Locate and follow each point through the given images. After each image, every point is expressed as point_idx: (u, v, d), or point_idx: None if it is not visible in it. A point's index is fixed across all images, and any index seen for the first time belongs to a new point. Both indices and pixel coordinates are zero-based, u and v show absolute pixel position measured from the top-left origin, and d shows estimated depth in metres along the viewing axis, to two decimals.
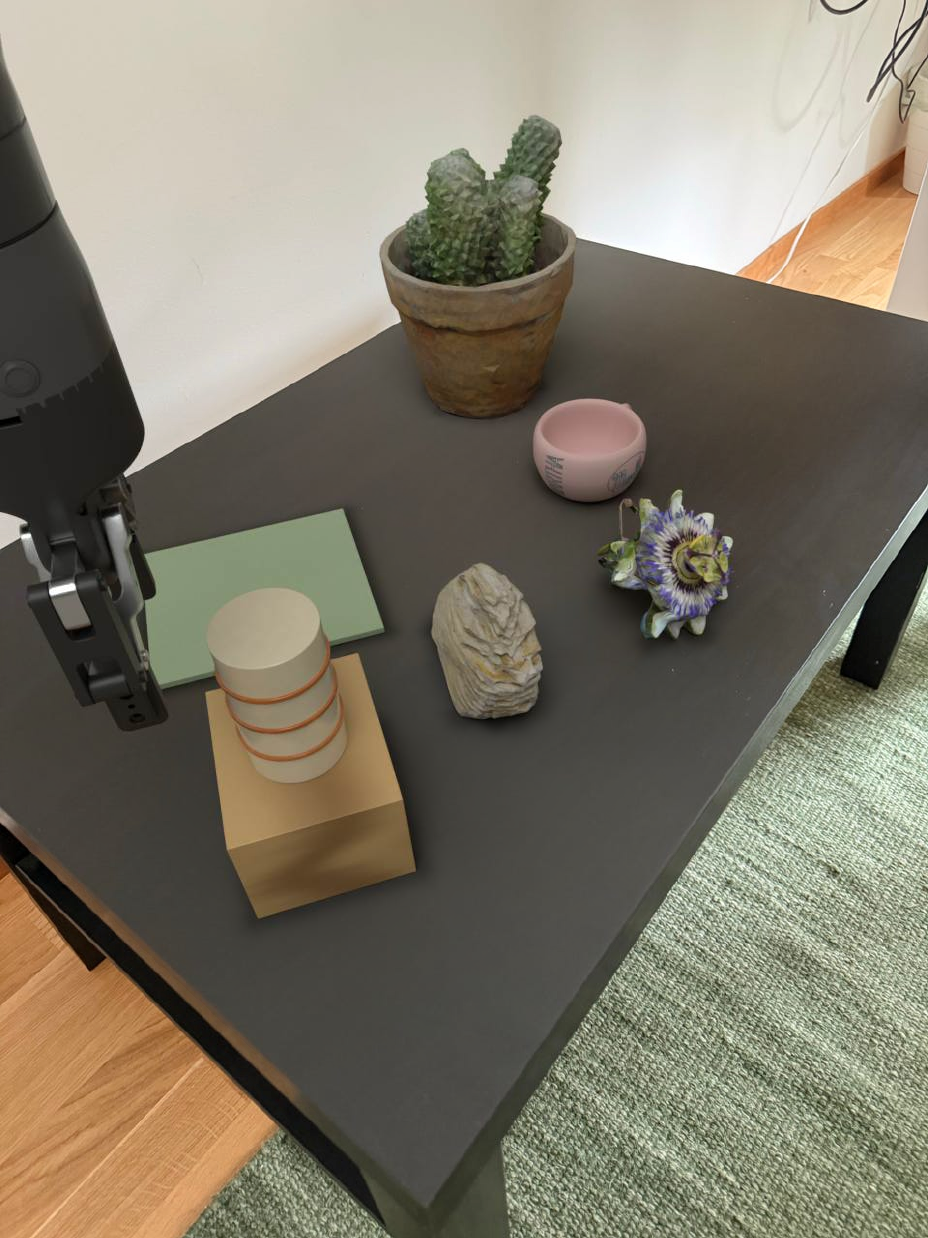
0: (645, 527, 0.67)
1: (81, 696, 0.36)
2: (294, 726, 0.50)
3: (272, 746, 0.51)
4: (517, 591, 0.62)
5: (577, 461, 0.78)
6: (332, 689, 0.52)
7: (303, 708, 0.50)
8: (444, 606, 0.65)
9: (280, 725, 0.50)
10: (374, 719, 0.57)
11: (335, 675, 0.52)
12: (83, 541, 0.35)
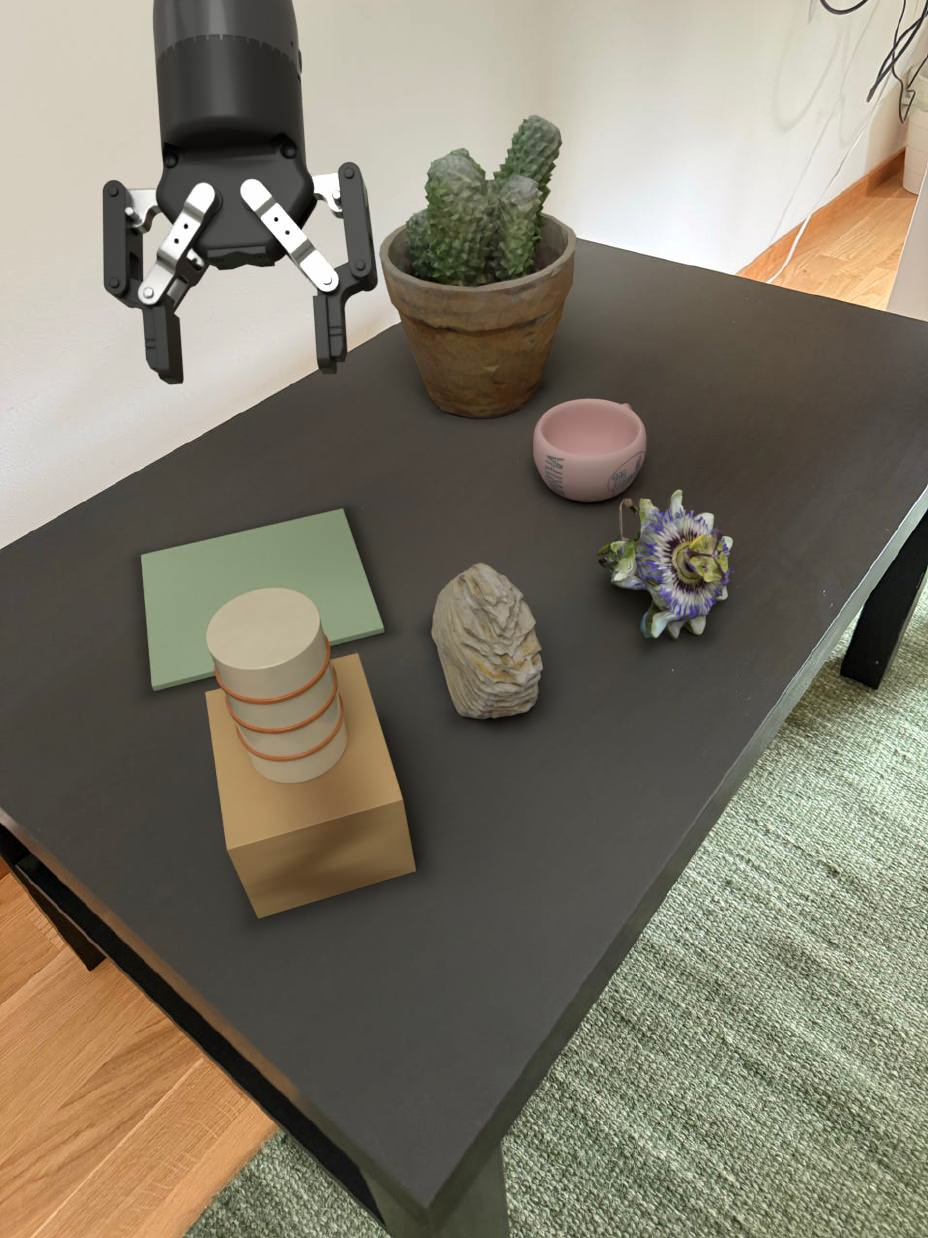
0: (645, 527, 0.67)
1: (371, 258, 0.48)
2: (294, 726, 0.50)
3: (272, 746, 0.51)
4: (517, 591, 0.62)
5: (577, 461, 0.78)
6: (332, 689, 0.52)
7: (303, 708, 0.50)
8: (444, 606, 0.65)
9: (280, 725, 0.50)
10: (374, 719, 0.57)
11: (335, 675, 0.52)
12: None
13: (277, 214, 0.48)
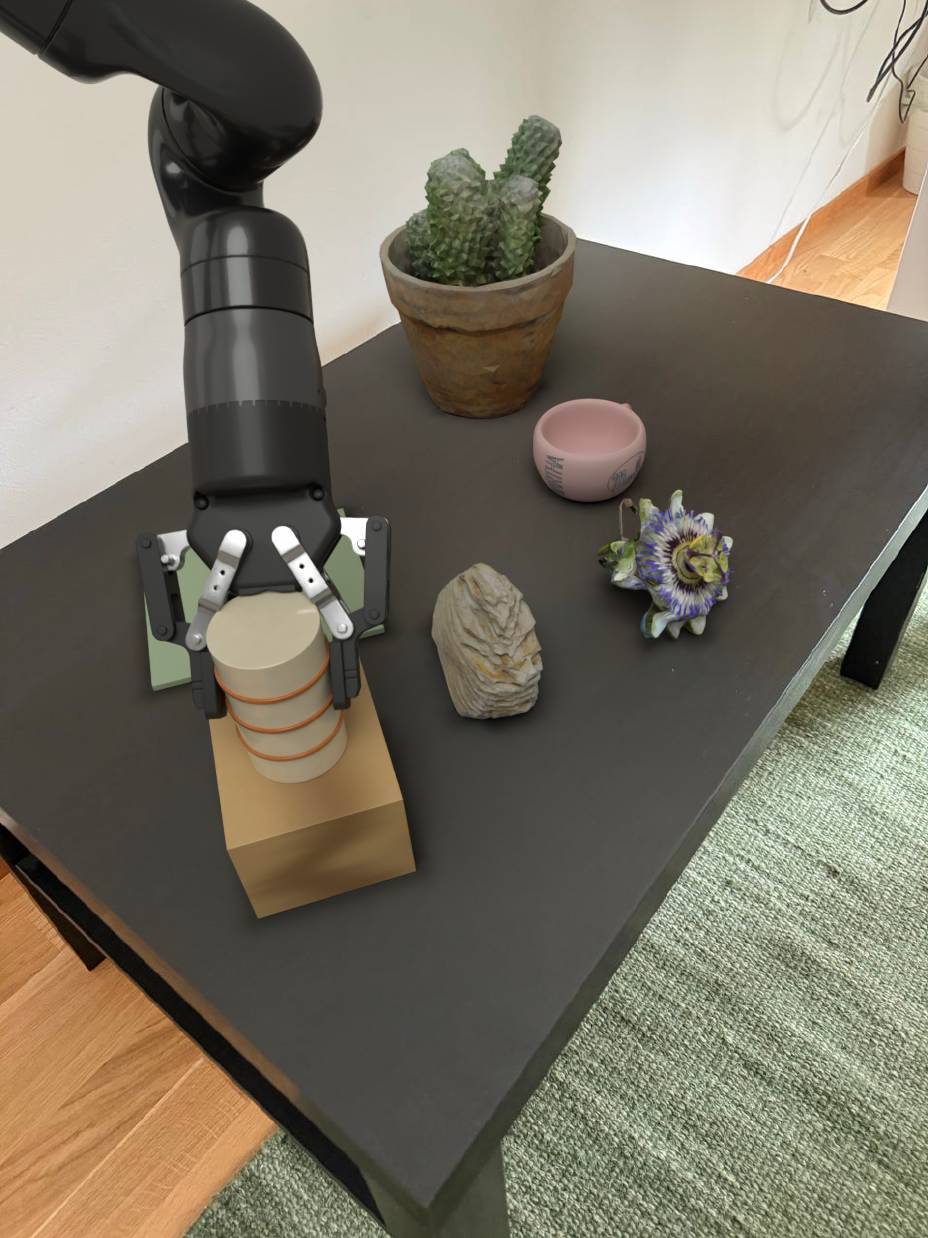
0: (645, 527, 0.67)
1: (385, 608, 0.50)
2: (294, 726, 0.50)
3: (272, 746, 0.51)
4: (517, 591, 0.62)
5: (577, 461, 0.78)
6: None
7: (302, 708, 0.50)
8: (444, 606, 0.65)
9: (280, 725, 0.50)
10: (374, 719, 0.57)
11: None
12: (339, 515, 0.52)
13: (303, 562, 0.49)
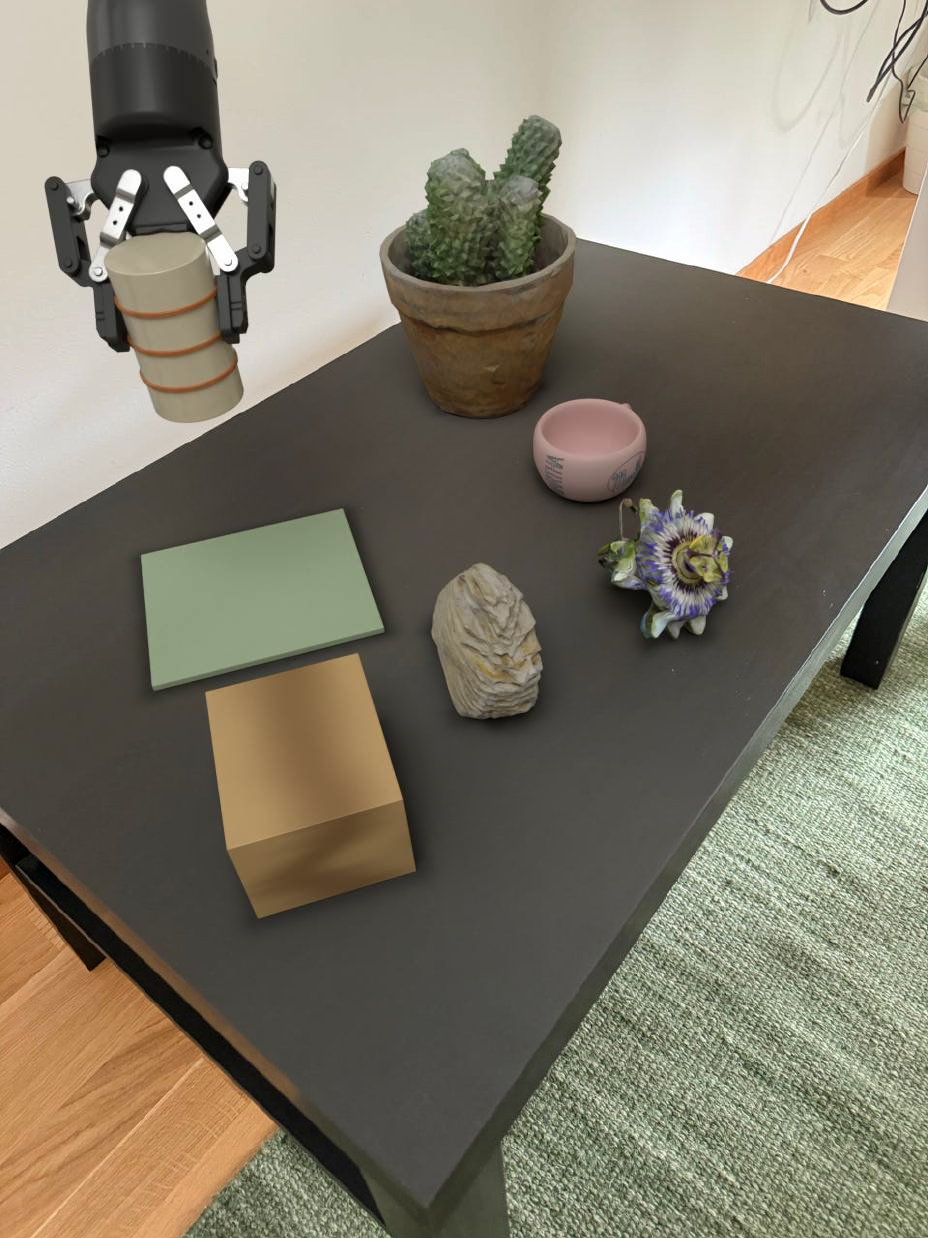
0: (645, 528, 0.67)
1: (267, 245, 0.56)
2: (185, 349, 0.56)
3: (168, 374, 0.57)
4: (517, 591, 0.62)
5: (577, 461, 0.78)
6: None
7: (192, 330, 0.56)
8: (444, 606, 0.65)
9: (172, 347, 0.56)
10: (374, 719, 0.57)
11: None
12: None
13: (192, 199, 0.56)
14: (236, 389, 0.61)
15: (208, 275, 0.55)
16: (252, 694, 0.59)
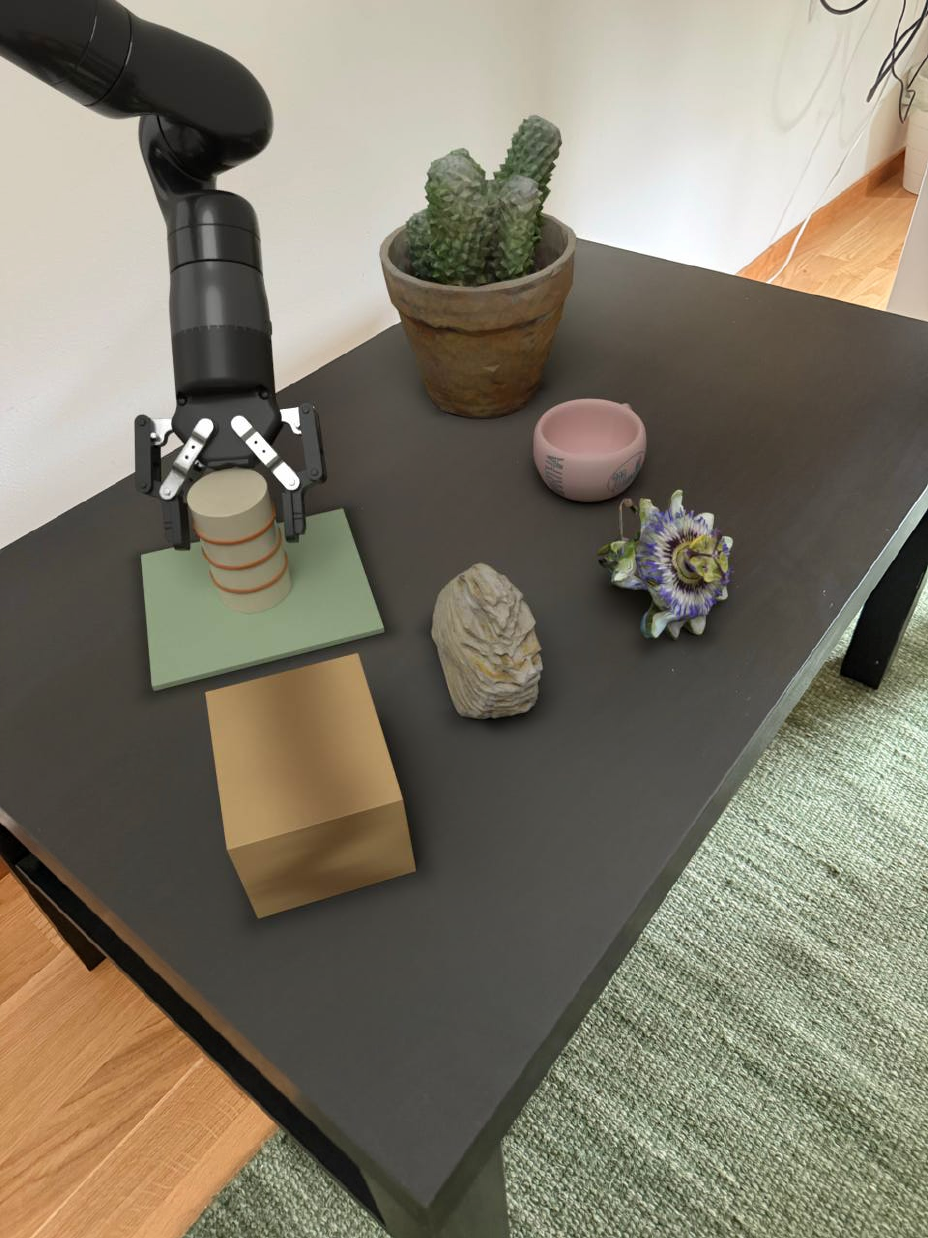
0: (645, 527, 0.67)
1: (322, 467, 0.70)
2: (249, 564, 0.71)
3: (234, 581, 0.72)
4: (517, 591, 0.62)
5: (577, 461, 0.78)
6: (277, 541, 0.72)
7: (255, 551, 0.71)
8: (444, 606, 0.65)
9: (239, 563, 0.71)
10: (374, 719, 0.57)
11: (280, 533, 0.73)
12: None
13: (256, 439, 0.70)
14: (287, 584, 0.75)
15: (268, 508, 0.70)
16: (252, 694, 0.59)
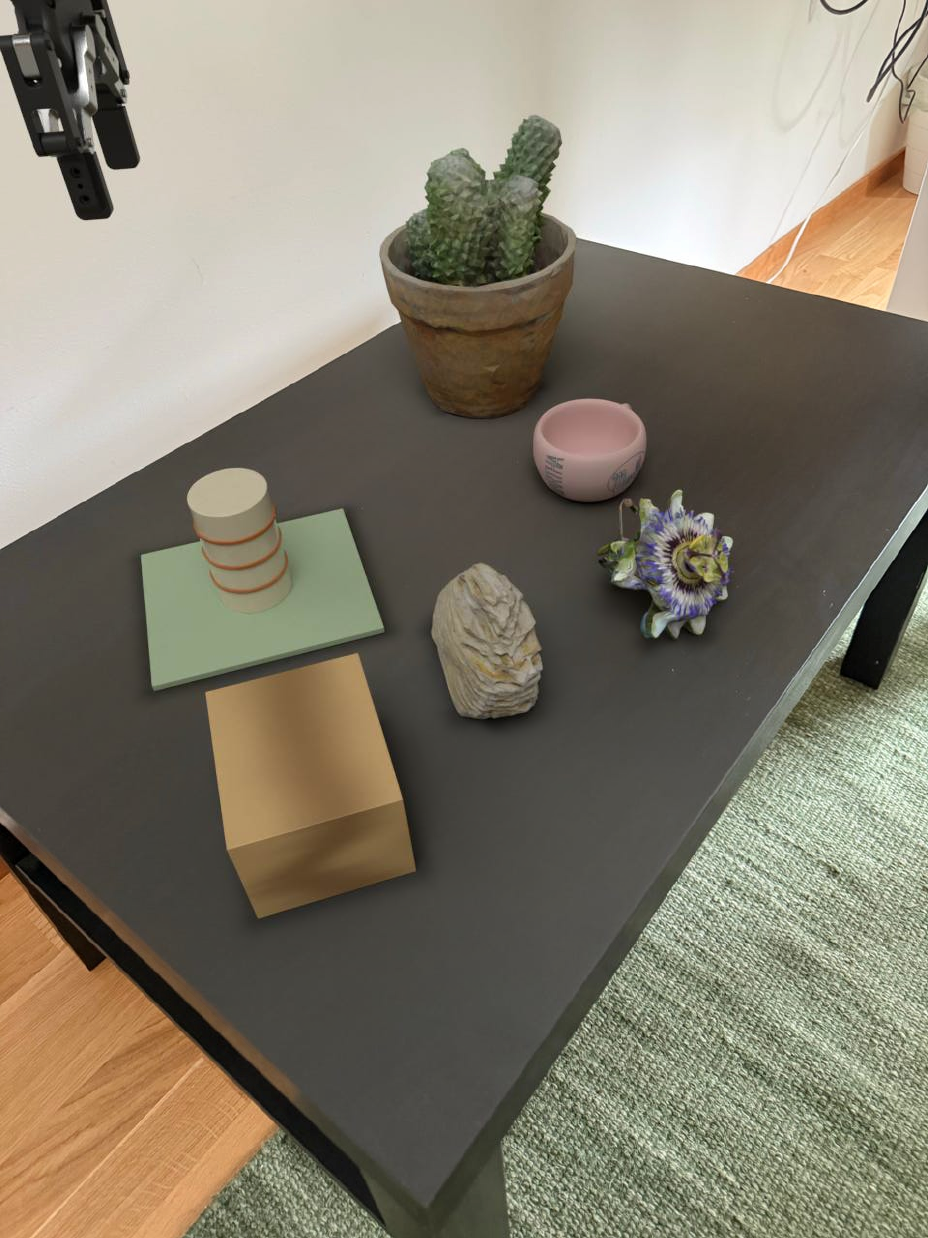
0: (645, 527, 0.67)
1: (34, 142, 0.52)
2: (249, 564, 0.71)
3: (234, 581, 0.72)
4: (517, 591, 0.62)
5: (577, 461, 0.78)
6: (277, 541, 0.72)
7: (255, 551, 0.71)
8: (444, 606, 0.65)
9: (239, 563, 0.71)
10: (374, 719, 0.57)
11: (280, 533, 0.73)
12: (48, 25, 0.51)
13: None
14: (287, 584, 0.75)
15: (268, 508, 0.70)
16: (252, 694, 0.59)
